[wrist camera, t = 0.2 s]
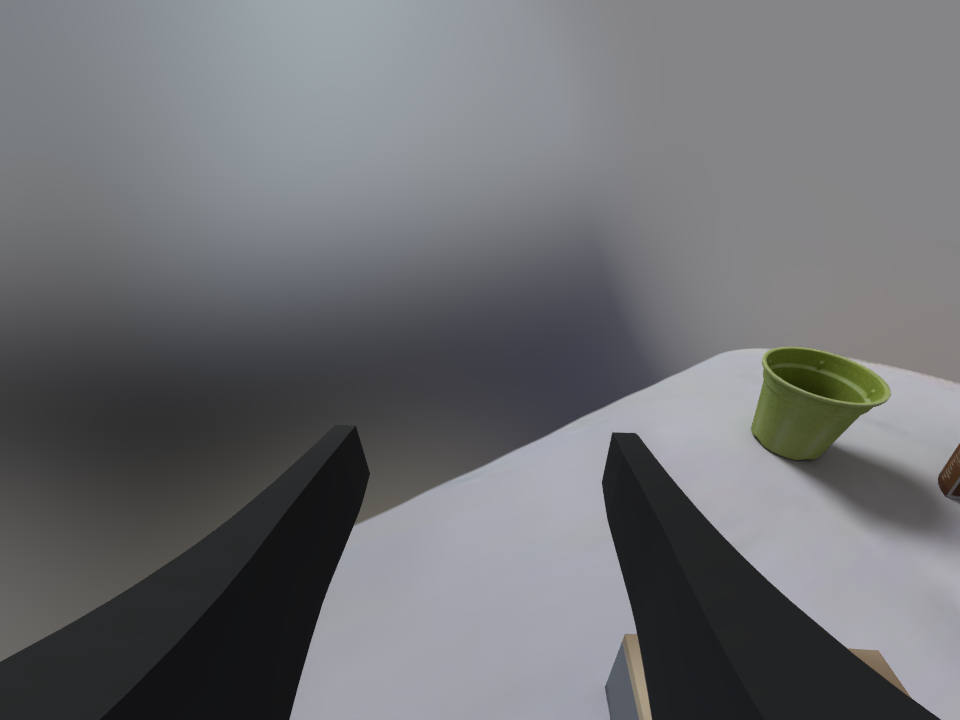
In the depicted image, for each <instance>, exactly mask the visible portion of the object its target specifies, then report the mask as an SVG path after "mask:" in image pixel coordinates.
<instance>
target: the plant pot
mask: <svg viewBox="0 0 960 720" xmlns="http://www.w3.org/2000/svg"><path fill="white" fill-rule="evenodd" d="M762 365H763V367H764V371H763V378H764V381H763V385H762V389H761V393H760V397H759V401H758V405H757V408H756V412H755V416H754V419H753V423H752V427H751V431H752V434H753V435H755V436H756V437H757V438H758V439H759V441H760V442H761V444H762V445H763V446H764V447H766V448H767V449H769V450H770V451H772V452H774V453H776V454H778V455H781V456H783V457H786V458H790V459H794V460H803V459H812V460H815V459H817V458H819V457H820V456H821V455H822V454H823V453H824V452H825V451H826V450H827V449H828V448H829V447H830V446H831V445H832V444H833V443H834V441H835V440H836V439H837V438H838V437H839V436H840V435H841V434H842V433H843V432H844V431H845V430H846V429H847V428H848V427H849V426H850V425H851V424H852V423H853V422H854V421H855V420H856V419H857V418H858V417H859V416H860V415H862V414H864V413H866V412H868V411H869V410H870V409H872V408H873V407H876V406H879V405H881V404H883V403H885V402H886V401H887V400H888V399H889V398H890V395H891V391H890V388H889V386H888V384H887V383H886V382H885V381H884V380H883V379H882V378H881V377H880V376H879V375H877V374H876V373H874V372H873V371H872V370H870V369H868V368H866V367H865V366H863V365H861V364H859V363H856V362H854V361H852V360H849V359H847V358H844V357H841V356H839V355H836V354H832V353H829V352H825V351H821V350H816V349H810V348H801V347H780V348H775V349H771V350H769V351H767V352H766V353H765V354H764V355H763V358H762Z"/></svg>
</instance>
